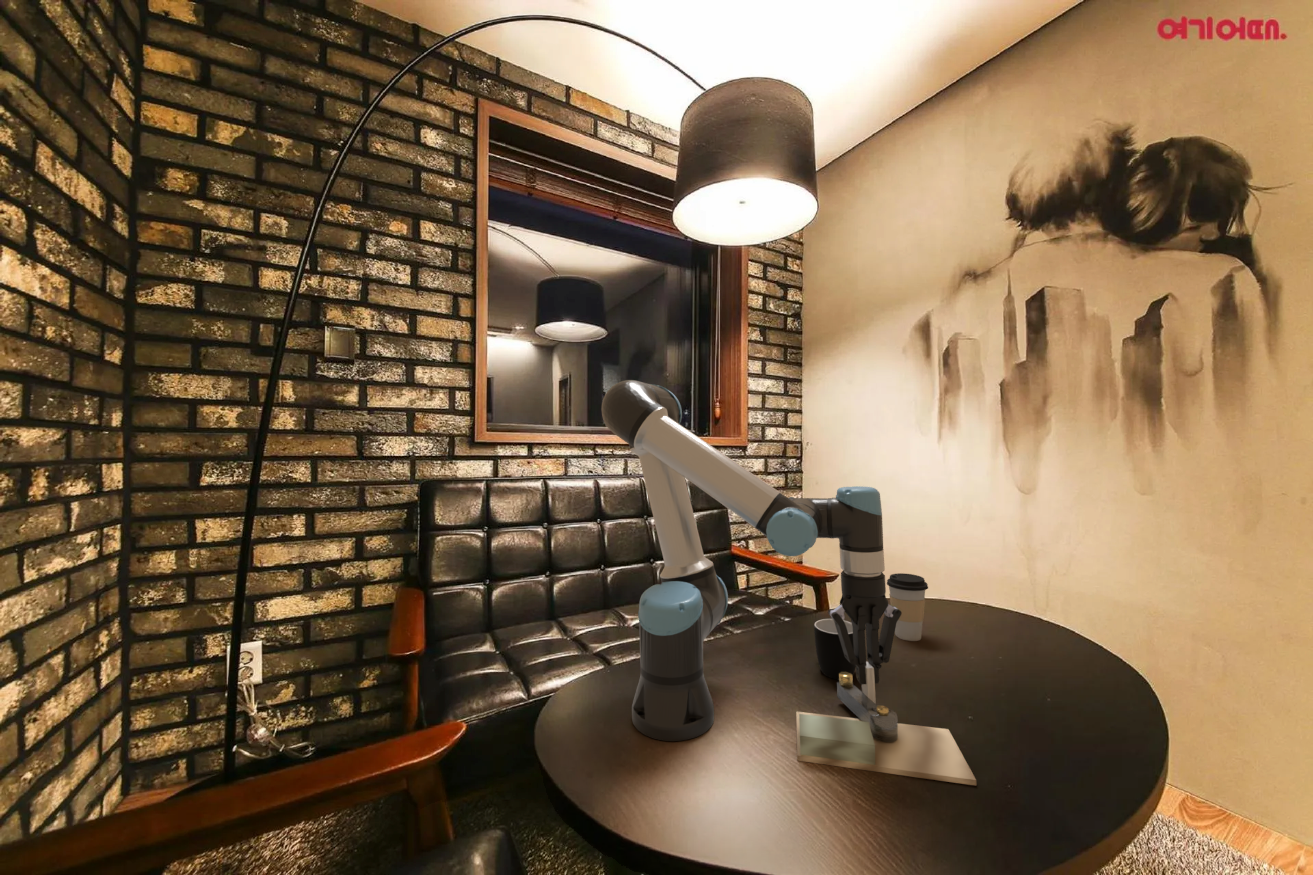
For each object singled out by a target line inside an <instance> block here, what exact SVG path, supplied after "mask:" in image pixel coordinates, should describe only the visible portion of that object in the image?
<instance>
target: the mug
mask: <svg viewBox="0 0 1313 875" xmlns="http://www.w3.org/2000/svg"><path fill="white" fill-rule="evenodd" d="M843 621H844V623H845V625H846V628H847V631H848V634H849V637H850V641H851V644H852V647H853V651H854V644H853V626H852V623H851V621H848V620H845V619H844V620H843ZM813 630H814V631H813V633H814V644H815V651H816V656H817V657H816V658H817V661H818V666H819V668H820V671H821V673H822V674H823V675H824V676H825V677H828V678H831V679H834V680H839V673H840V672H848V673H851V674H852V676H854V674H855V672H856V665H852V664H851V663H850V662H849V661H848V660H847V659H846V658H845V656H844V652H843V649H842V646H841V642H840V639H839V636H838V632H837V629H836V626H835V623H834V620H833V619H832V618H823V619H822V618H821V619H819V620H817V621H815V622H814V626H813Z"/></svg>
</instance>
